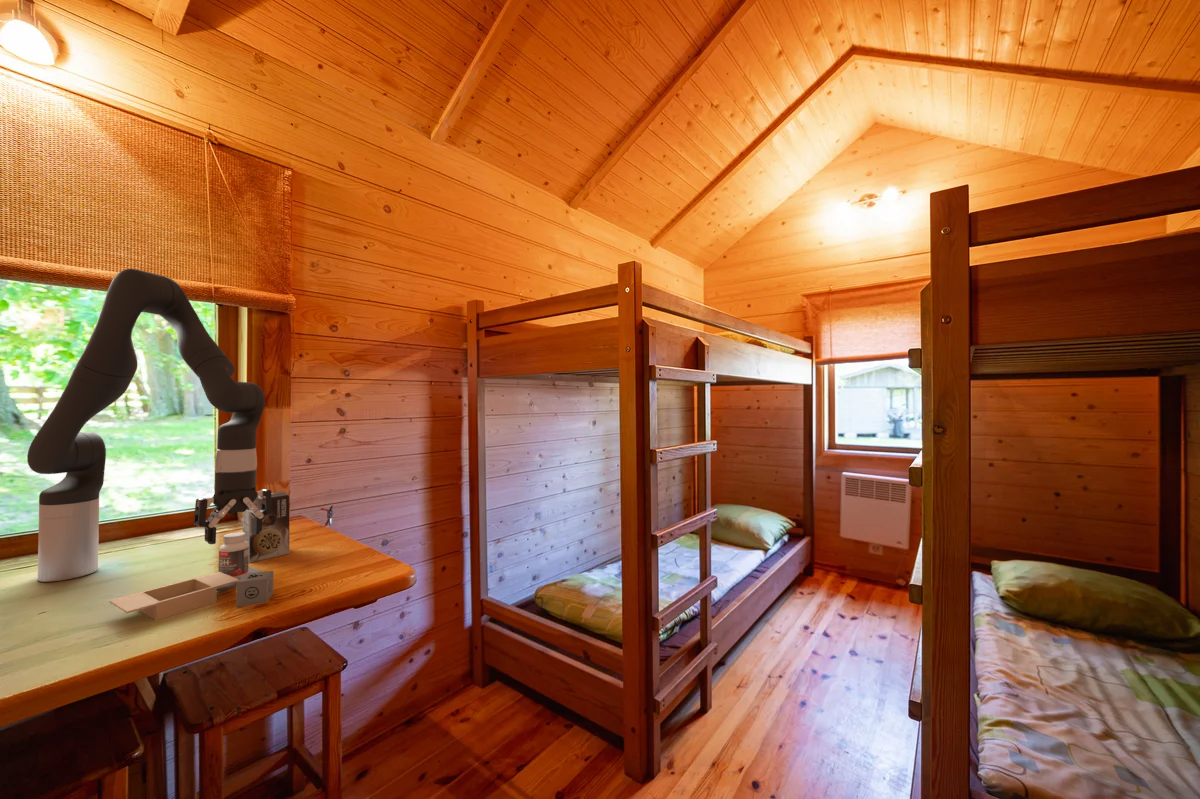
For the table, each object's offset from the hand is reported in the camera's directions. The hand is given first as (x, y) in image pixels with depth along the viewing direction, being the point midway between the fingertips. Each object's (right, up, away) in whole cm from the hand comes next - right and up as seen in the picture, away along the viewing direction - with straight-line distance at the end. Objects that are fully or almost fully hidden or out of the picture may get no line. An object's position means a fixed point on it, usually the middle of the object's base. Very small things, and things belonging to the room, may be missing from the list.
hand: (234, 538), depth 105 cm
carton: (0, -9, -14) cm, 16 cm away
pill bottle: (0, -9, 0) cm, 9 cm away
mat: (0, -9, 0) cm, 9 cm away
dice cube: (+13, -10, -10) cm, 19 cm away
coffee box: (-4, -10, +16) cm, 19 cm away
